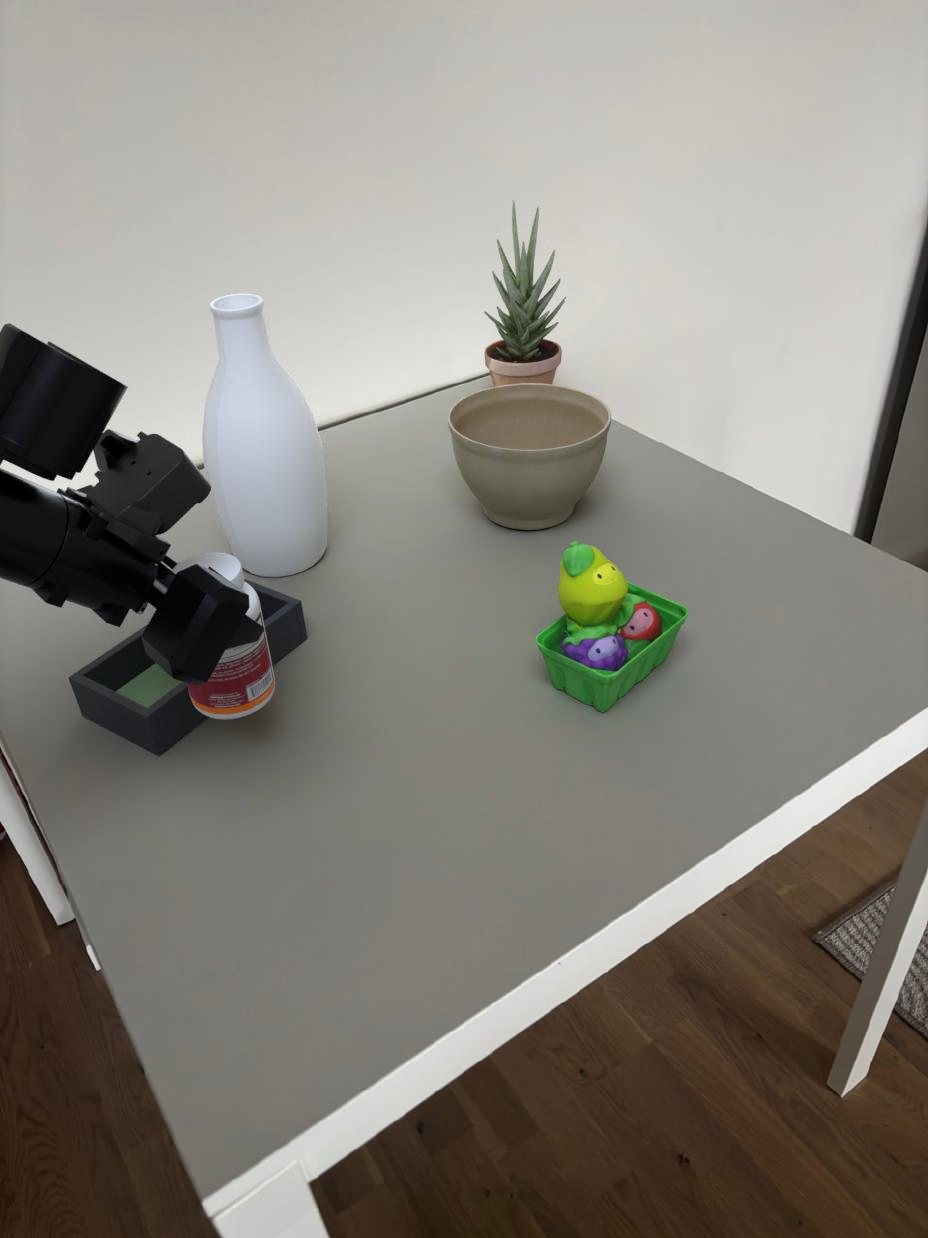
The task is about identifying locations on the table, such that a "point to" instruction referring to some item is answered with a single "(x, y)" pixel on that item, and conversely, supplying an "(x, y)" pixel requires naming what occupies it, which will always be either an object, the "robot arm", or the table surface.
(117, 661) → the tray
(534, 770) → the table surface
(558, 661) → the fruit basket
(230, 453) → the bottle
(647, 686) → the table surface
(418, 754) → the table surface
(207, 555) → the pill bottle
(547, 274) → the potted plant
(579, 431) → the planter bowl
